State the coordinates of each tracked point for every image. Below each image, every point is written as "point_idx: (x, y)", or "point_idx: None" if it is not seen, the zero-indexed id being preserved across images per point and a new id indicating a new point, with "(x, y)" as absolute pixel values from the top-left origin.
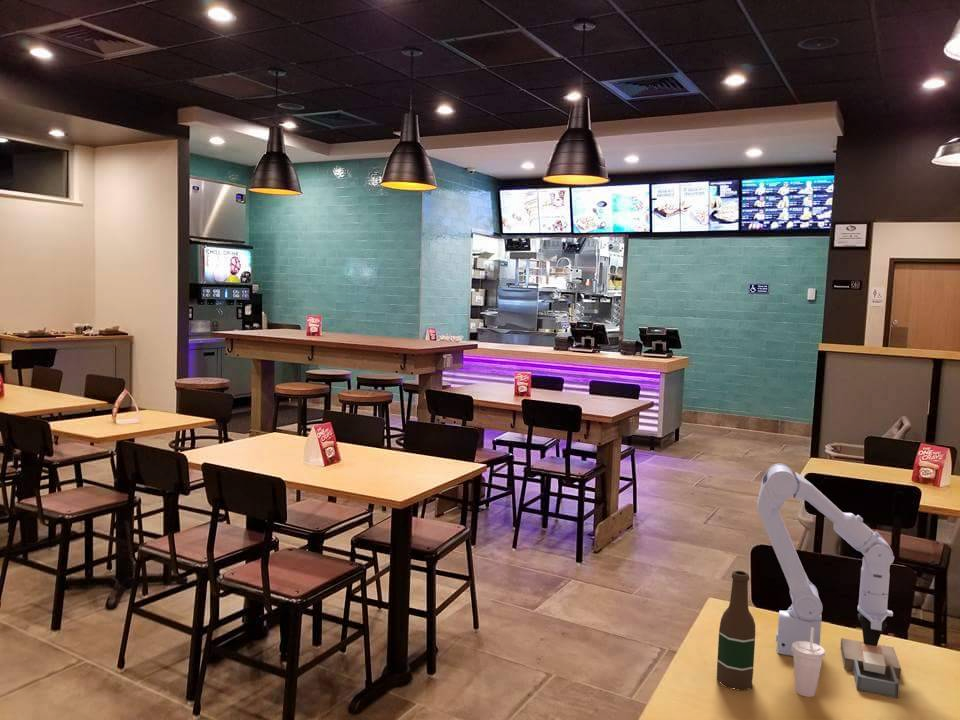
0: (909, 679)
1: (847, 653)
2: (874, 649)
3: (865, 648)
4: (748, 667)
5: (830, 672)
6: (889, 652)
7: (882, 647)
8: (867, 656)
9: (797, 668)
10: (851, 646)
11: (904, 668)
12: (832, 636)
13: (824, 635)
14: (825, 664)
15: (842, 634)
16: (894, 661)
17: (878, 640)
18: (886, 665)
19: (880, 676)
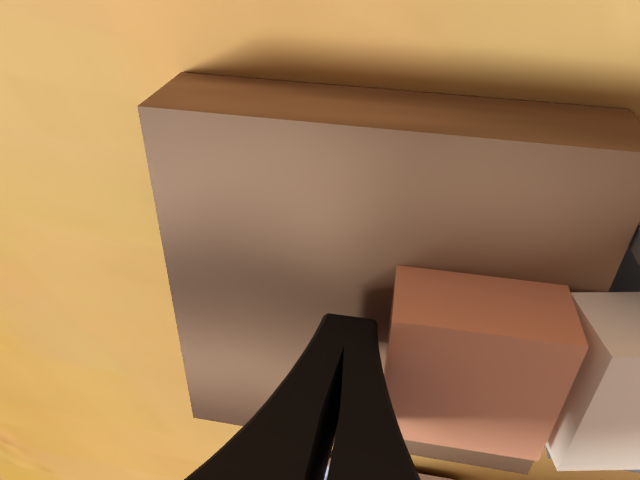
0: (610, 18)
1: (444, 446)
2: (477, 382)
3: (475, 433)
4: None
5: (584, 472)
6: (291, 174)
7: (202, 206)
8: (633, 451)
9: None
10: None
11: (366, 13)
12: (74, 361)
13: (90, 391)
14: (482, 467)
15: (3, 309)
16: (498, 178)
17: (387, 391)
18: (614, 268)
19: (623, 258)
